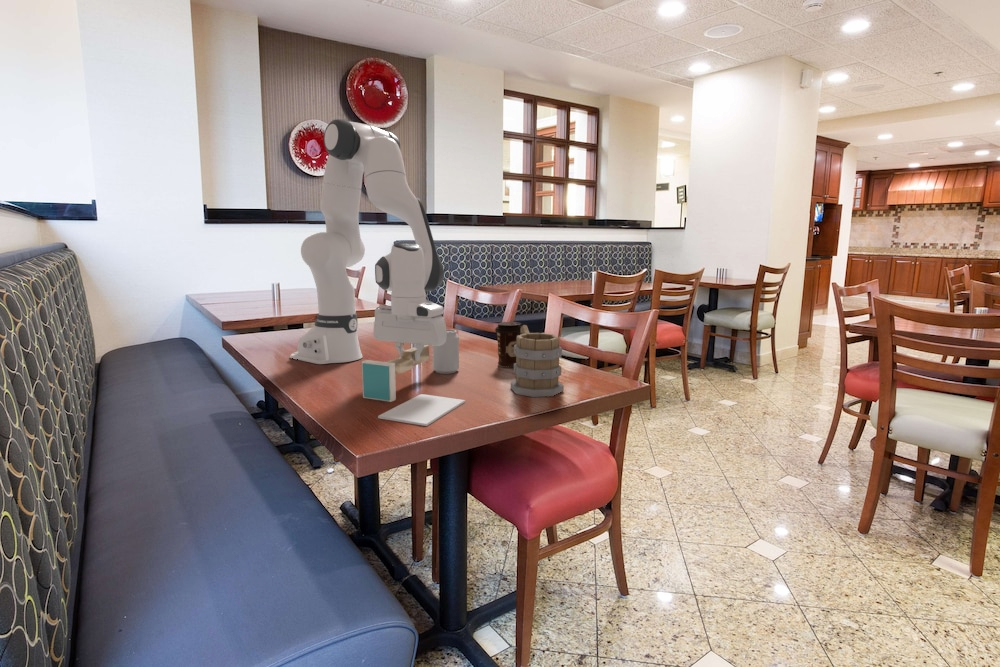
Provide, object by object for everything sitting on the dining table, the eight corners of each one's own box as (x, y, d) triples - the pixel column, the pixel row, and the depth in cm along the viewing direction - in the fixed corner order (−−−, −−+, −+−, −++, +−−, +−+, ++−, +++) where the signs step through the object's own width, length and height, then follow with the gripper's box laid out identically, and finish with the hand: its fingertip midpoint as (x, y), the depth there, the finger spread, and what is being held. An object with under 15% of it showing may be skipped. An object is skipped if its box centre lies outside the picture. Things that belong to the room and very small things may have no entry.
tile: (362, 398, 133) (361, 361, 131) (368, 395, 135) (366, 359, 133) (390, 402, 130) (389, 365, 128) (395, 399, 132) (395, 363, 130)
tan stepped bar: (385, 371, 138) (384, 356, 137) (418, 358, 152) (418, 344, 151) (400, 373, 136) (399, 357, 135) (432, 360, 150) (432, 345, 150)
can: (457, 374, 155) (457, 332, 153) (431, 374, 155) (430, 332, 153) (460, 368, 163) (460, 328, 160) (434, 367, 163) (434, 327, 160)
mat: (377, 418, 119) (377, 416, 118) (421, 395, 135) (421, 393, 135) (426, 426, 114) (426, 423, 114) (465, 402, 130) (465, 400, 130)
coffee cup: (528, 364, 168) (529, 322, 165) (515, 370, 161) (515, 326, 158) (503, 361, 172) (504, 320, 170) (489, 366, 165) (489, 323, 163)
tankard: (568, 395, 136) (570, 336, 134) (518, 398, 134) (519, 337, 131) (545, 375, 156) (547, 323, 153) (501, 377, 153) (502, 324, 150)
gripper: (367, 306, 142) (369, 358, 145) (437, 311, 135) (437, 366, 137) (381, 303, 148) (383, 353, 151) (449, 308, 140) (449, 360, 143)
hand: (409, 359), depth 144 cm, fingers closed on tan stepped bar, 2 cm apart
